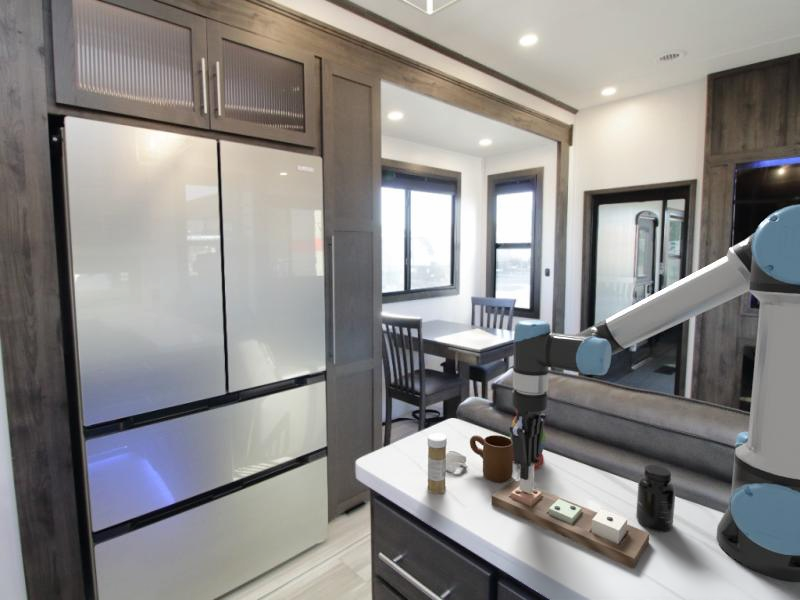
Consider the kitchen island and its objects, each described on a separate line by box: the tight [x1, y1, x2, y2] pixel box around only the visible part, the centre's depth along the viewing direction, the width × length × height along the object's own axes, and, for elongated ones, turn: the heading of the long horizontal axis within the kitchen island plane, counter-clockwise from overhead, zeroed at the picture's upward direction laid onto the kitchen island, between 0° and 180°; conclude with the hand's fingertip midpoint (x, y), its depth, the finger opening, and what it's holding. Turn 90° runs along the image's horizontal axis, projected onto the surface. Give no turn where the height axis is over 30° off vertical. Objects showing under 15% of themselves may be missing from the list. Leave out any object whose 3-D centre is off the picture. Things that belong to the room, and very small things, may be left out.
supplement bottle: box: [635, 464, 676, 533], centre depth 93 cm, size 7×7×12 cm
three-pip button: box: [511, 486, 542, 507], centre depth 100 cm, size 5×5×3 cm
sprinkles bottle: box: [427, 433, 448, 495], centre depth 106 cm, size 5×5×14 cm
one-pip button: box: [592, 508, 628, 545], centre depth 87 cm, size 5×5×3 cm
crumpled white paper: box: [446, 450, 469, 473], centre depth 118 cm, size 8×7×5 cm
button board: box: [491, 478, 650, 569], centre depth 93 cm, size 30×10×2 cm, turn 46°
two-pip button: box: [549, 499, 581, 525], centre depth 93 cm, size 5×5×3 cm
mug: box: [469, 434, 514, 483], centre depth 114 cm, size 12×8×9 cm, turn 51°
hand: (526, 490), depth 99 cm, fingers closed
